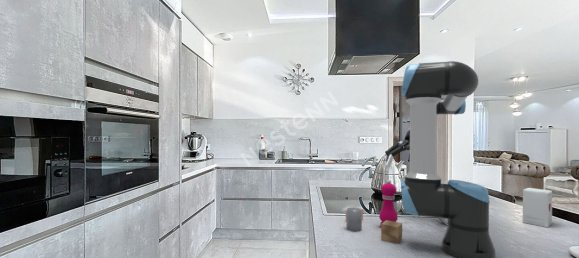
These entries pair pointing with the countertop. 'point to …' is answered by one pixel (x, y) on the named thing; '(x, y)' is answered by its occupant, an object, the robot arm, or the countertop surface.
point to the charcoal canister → (354, 219)
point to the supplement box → (537, 207)
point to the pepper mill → (388, 203)
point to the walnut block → (391, 231)
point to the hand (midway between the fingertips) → (401, 168)
